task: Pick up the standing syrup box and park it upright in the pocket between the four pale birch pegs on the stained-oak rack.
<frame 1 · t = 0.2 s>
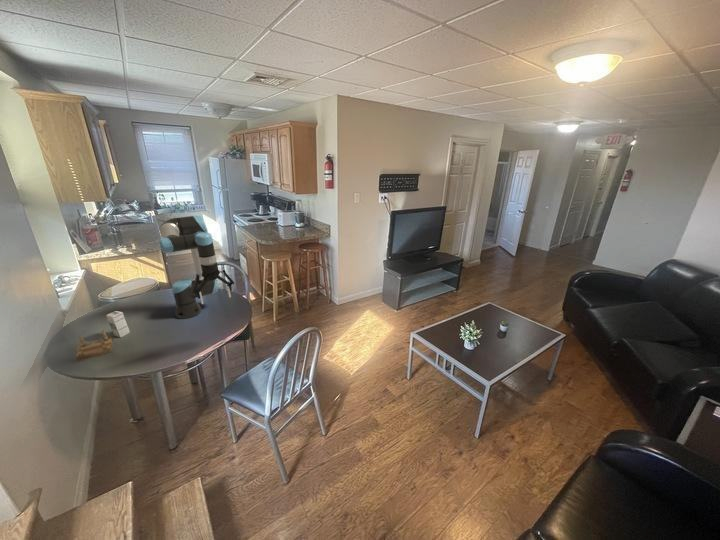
hand: (216, 299, 154), 28 cm above the table, fingers open, 13 cm apart
peg rack: (95, 350, 157), on the table
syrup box: (122, 334, 172), on the table
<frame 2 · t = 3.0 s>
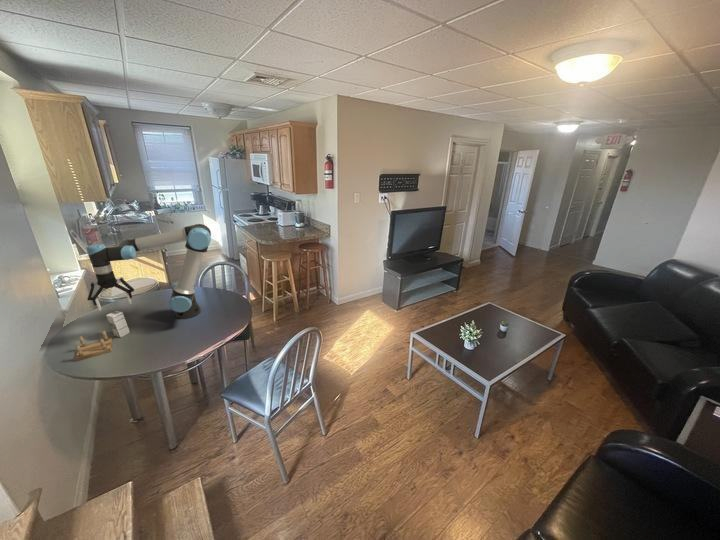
hand: (115, 306, 164), 19 cm above the table, fingers open, 13 cm apart
nothing on the table moved.
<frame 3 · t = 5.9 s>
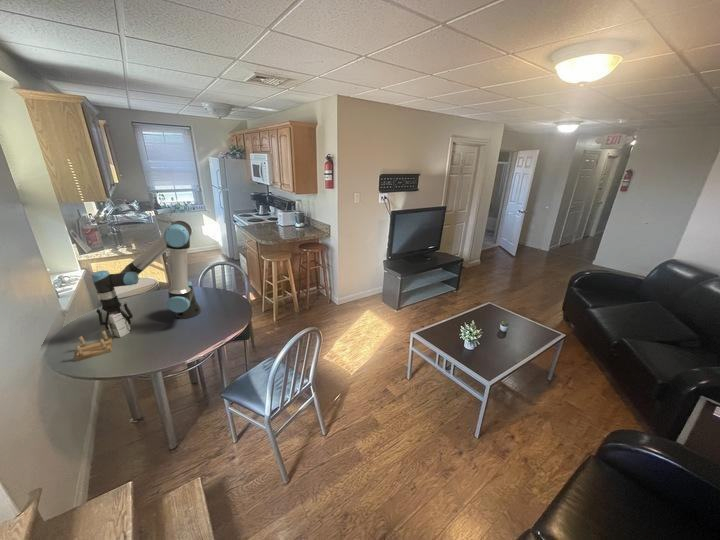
hand: (120, 331, 171), 2 cm above the table, fingers closed on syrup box, 8 cm apart
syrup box: (122, 334, 172), on the table, touching gripper
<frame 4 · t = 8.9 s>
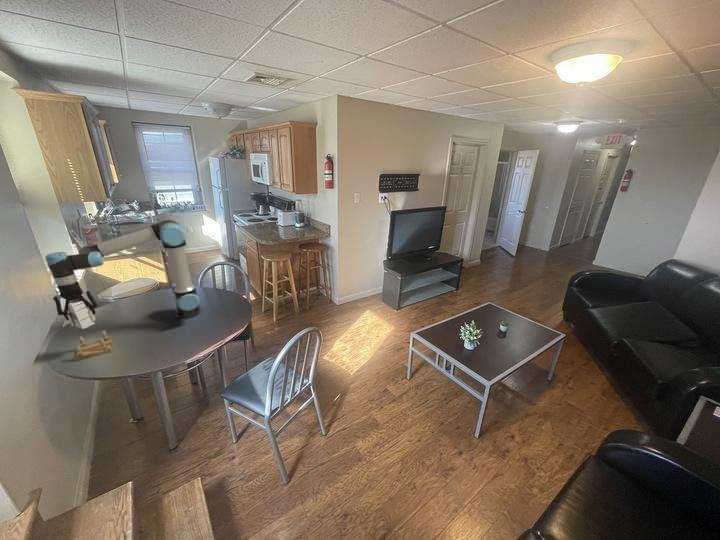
hand: (83, 322, 150), 18 cm above the table, fingers closed on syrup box, 8 cm apart
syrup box: (85, 325, 151), point 16 cm above the table, touching gripper
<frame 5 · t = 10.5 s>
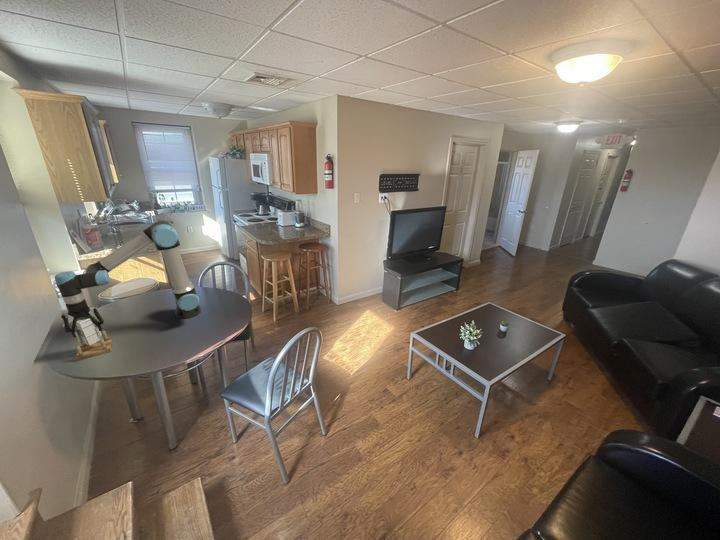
hand: (90, 338, 154), 8 cm above the table, fingers closed on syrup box, 8 cm apart
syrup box: (92, 342, 155), point 6 cm above the table, touching gripper
when the fingers open (6 cm above the table, at t = 11.8 s): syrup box drops 1 cm, resting on peg rack.
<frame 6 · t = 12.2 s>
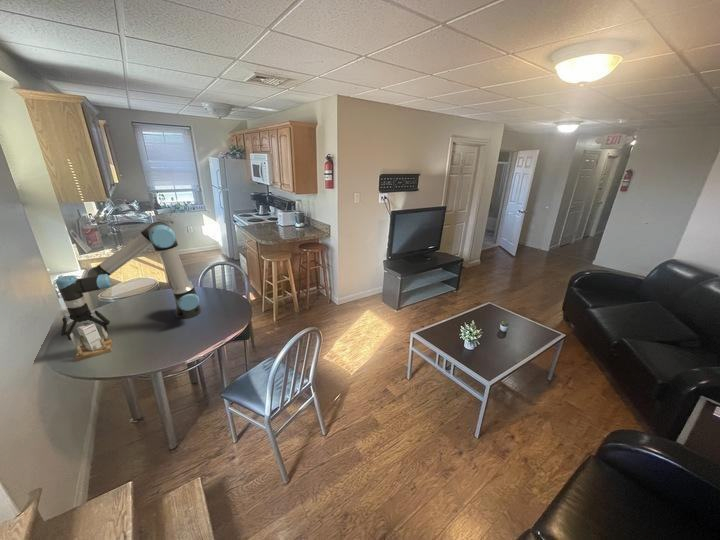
hand: (91, 340, 155), 7 cm above the table, fingers open, 12 cm apart
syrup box: (95, 347, 157), point 2 cm above the table, touching peg rack
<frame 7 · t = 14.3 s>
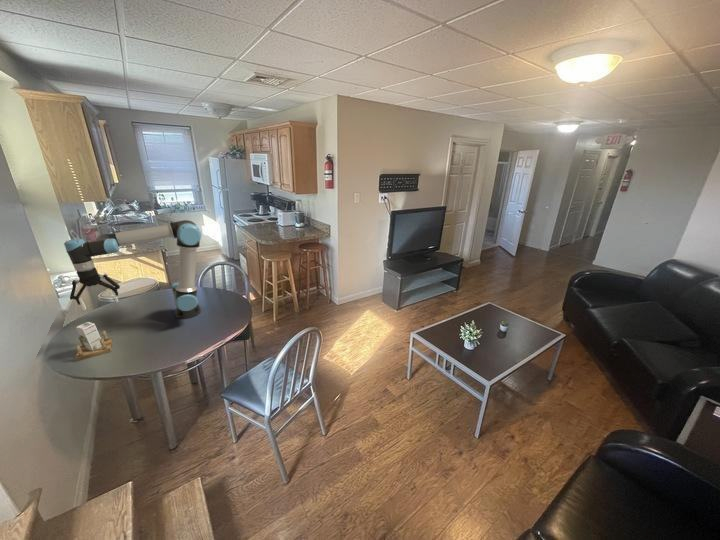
hand: (101, 305, 155), 25 cm above the table, fingers open, 13 cm apart
nothing on the table moved.
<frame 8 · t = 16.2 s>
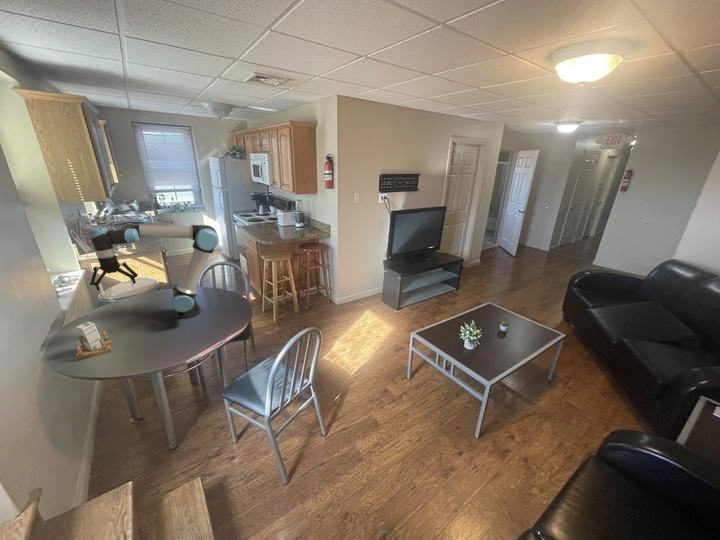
hand: (119, 292, 160), 29 cm above the table, fingers open, 13 cm apart
nothing on the table moved.
at the end: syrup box 0.2 cm off-centre on the peg rack, point 1.8 cm above the peg rack's base; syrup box tilted 0°; the gripper is holding nothing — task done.
